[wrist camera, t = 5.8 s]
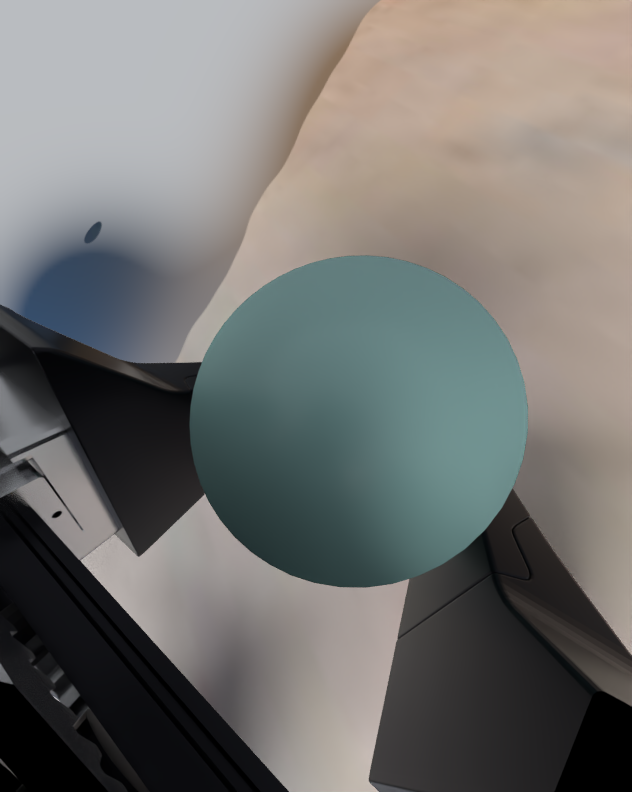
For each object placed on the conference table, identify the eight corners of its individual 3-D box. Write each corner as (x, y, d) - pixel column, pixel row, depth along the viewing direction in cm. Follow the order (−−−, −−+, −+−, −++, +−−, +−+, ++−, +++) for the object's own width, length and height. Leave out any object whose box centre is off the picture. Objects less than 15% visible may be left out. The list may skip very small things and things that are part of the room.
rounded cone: (398, 509, 14) (467, 680, 3) (314, 472, 16) (141, 489, 4) (426, 421, 15) (567, 283, 4) (343, 394, 16) (260, 238, 5)
